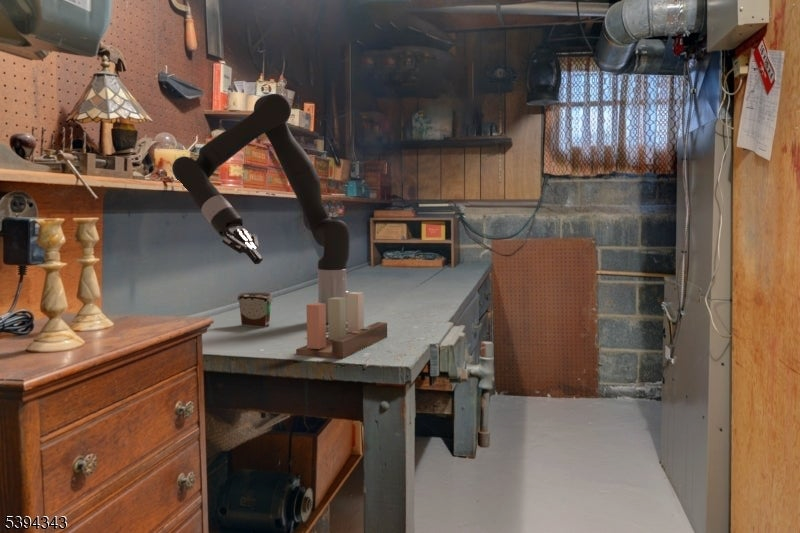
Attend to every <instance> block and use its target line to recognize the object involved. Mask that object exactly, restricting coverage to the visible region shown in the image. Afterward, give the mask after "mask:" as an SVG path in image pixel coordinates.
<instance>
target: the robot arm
mask: <svg viewBox="0 0 800 533" xmlns="http://www.w3.org/2000/svg"><path fill="white" fill-rule="evenodd" d="M291 114H292V106H291V103H290V100H288V98H286V97H285V96H284V95H282V94H279V93H270V94H267V95H263V96H261V97H259V98H258V99H257V100H256V101H255V103H254V106H253V111H252V113H251V114H249V115H248V116H247V117H245V118H244V119H243V120H240V122H238V123H236V124H234V125H233V126H231V127H229V128H228V129H226V130H224V131H223V132H221V133H219V134H218V135H217V136H215V137H214V138H212V139H211V140H209V141H208V142H206V144H204V145H203V146H202V147H201V148H199V151H198V157H197V158H196V160H195V159H194V158H192V157H189V156H180V157H177V158H176V159H175V160H174V161H173V163H172V166H171V168H172V170H171V171H172V174H173V176H174V178H175V180H176V179H177V180H179V181H180V182H181V183H182V184H183V186H184V187H185V188H186V189H187V190H186V191H187V192H188V193H189V195H190V197H191V199H192V200H193V202H194V204H195V205H196V206H197V208H199V210H200V212H201V213H202V214H203V216H204V217H205V219H206V220H207V221H208V222H209V224H210V225H211V227H212V228H213V229H214V230H215V231H216V233H217V234H218V235H219V236H220V237H222V238H223V237H224V238H223V239H222V243H223V244H224V245H226V246H227V247H229V248H231V249H233V251H236V252H237V253H238V254H244V255H245V256H247V257H248V258H249V259H250V260H251V262H252V263H253V264H254V265H259V264H261V262H262V261H263V260H264V259H263V257H262V255H261V254H260V253H259V252H258V250H257V249H258V248H259V240H258V239H259V238H258V234H256V233H252V234H251V233H249V231H248V229H247V228H245V226H243V223H244V220H243V218H242V217H241V215H240V214H239V213H238V212H237V210H236V209H235V208H234V207H233V206H232V204H231V203H230V202H229V201H228V200H227V199H226V198H225V197H224V196H223V195H222V194H221V193H220V191H219V190H218V189H217V188H216V186H215V185H213V183H212V182H211V180H210V177H211V176H212V175H213V174H214V173H215V171H216V170H217V169H218V168H219V167H220V166H222V165H224V163H226V162H227V161H229V159H231V158H232V157H234V156H235V155H236V154H237V153H239V152H240V151H241V150H242V149H244V148H245V147H246V146H248V145H249V144H250V143H252V142H253V141H254V140H255V139H256V140H257V139H258V138H259V137H261V136H262V135H263V134H264V135H265V136H266V137H267V139H268V141H269V142H270V144H271V146H272V149H273V150H274V153H275V155H276V157H277V160H278V162H279V164H280V166H281V168H282V170H283V172H284V175H285V177H286V179H287V182H288V184H289V185H290V187H291V189H292V191H293V193H294V195H295V197H296V199H297V201H298V202H299V205H300V207H301V209H302V211H303V214H304V216H305V218H306V221H307V224H308V226H309V229H310V232H311V234H312V237H313V239H314V241H315V242H316V243H317V245H318V246H320V247H322V248H323V255H322V257H320V259H318V262H317V284H318V286H317V292H318V294H317V300H318V301H317V303H324V304H326V324H328V299H329V298H333V297H341V298H346V322H347V293H350V291H348V290H347V288H348V287H347V282H348V281H347V264H348V261H349V257H350V230H349V227H348V225H347V223H346V222H344V221H343V220H341V219H332V218H331V217H330V215H329V214H328V212H327V210H326V208H325V205H324V202H323V198H322V186H321V185H322V184H321V180H320V176H319V174H318V171H317V169H316V167H315V166H314V162H313V161H312V159H311V157H309V155H308V153H307V152H306V151H305V150H304V148H303V147H302V146H301V145H300V144H299V143H298V141H297V140H296V138H295V137H294V136H293V134H292V132H291V130H290V128H289V126H288V123H287V122H288V120H289V119H290V116H291ZM177 180H176V181H177Z"/></svg>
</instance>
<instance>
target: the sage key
mask: <svg viewBox="0 0 800 533" xmlns="http://www.w3.org/2000/svg"><path fill="white" fill-rule="evenodd" d="M327 324H328V326H327V327H328V332H327V334H328V337H329V339H330V340H335V339H338V338H340V337H343V336H345V335H346V330H347V328H346V324H347V321H346V298H341V297H333V298H329V299H328V323H327Z"/></svg>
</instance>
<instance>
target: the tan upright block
mask: <svg viewBox="0 0 800 533" xmlns="http://www.w3.org/2000/svg"><path fill="white" fill-rule="evenodd" d="M364 294H365V293H364V292H361V291H359V292H358V291H352V292H349V293H347V321H346V324H347V328H346V330H347V332H354V331H357V330H360V329H361V328H364V327H365V317H364V316H365V311H364V310H365V308H364V300H365V299H364V298H365V297H364Z"/></svg>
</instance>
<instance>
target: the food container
mask: <svg viewBox="0 0 800 533" xmlns="http://www.w3.org/2000/svg"><path fill="white" fill-rule="evenodd" d="M236 300H237V301H238V304H239V313H240V322H241V323H240V325H241V326H244V325H246V327H254V326H255V327H256V328H264V327H266V328H268V327H269V326H270V321H271V320H270V318H271V305H272V304H271V303H272V302H273V301H274V299H273V296H272V294H271V293H270V292H269V293H268V292H261V291H260V292H258V291H257V292H243V293H238V294H237V299H236ZM255 327H254V328H255Z"/></svg>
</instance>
